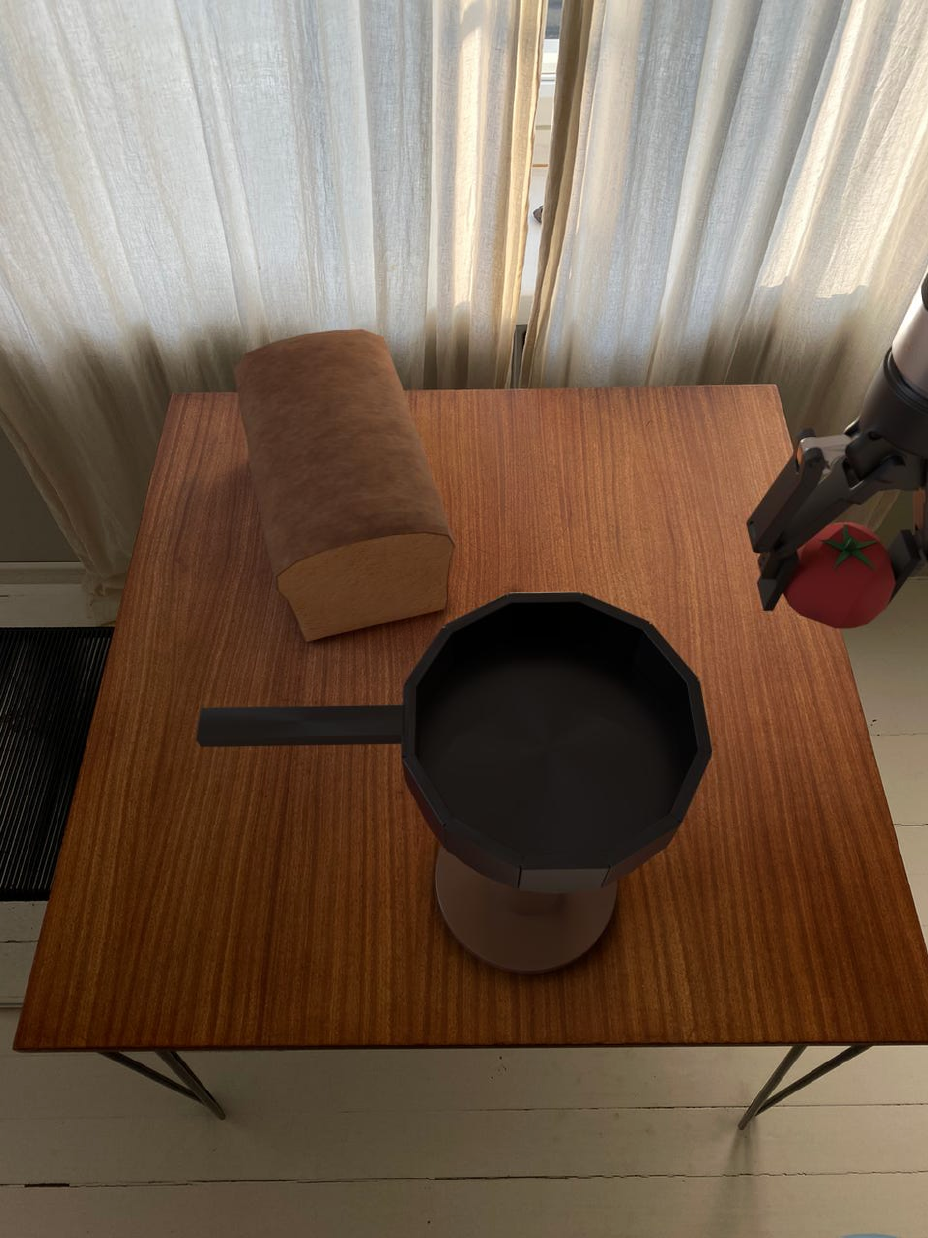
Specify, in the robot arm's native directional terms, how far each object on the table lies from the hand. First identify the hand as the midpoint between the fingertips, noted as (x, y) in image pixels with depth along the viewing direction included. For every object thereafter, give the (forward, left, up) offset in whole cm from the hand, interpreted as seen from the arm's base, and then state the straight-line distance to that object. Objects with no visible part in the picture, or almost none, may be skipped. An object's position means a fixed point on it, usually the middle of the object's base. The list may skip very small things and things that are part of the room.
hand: (820, 595), depth 68 cm
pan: (-16, +29, -21) cm, 39 cm away
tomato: (0, 0, 0) cm, 1 cm away
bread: (+25, +41, -22) cm, 53 cm away
